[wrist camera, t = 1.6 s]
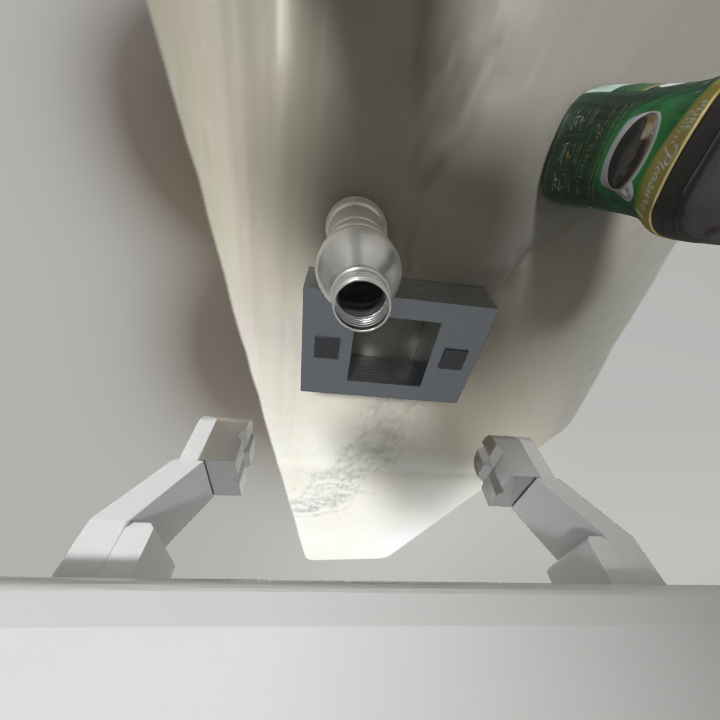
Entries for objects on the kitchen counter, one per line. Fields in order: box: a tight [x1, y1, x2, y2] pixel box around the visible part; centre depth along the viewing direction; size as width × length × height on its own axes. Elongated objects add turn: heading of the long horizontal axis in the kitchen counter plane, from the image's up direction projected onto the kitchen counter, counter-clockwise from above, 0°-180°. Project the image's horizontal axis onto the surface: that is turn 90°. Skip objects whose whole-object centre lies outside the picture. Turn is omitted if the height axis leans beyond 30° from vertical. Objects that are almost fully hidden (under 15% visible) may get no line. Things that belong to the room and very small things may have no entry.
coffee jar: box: [542, 76, 720, 245], centre depth 23 cm, size 10×8×19 cm
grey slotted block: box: [301, 267, 499, 403], centre depth 40 cm, size 15×22×6 cm
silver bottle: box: [315, 196, 402, 332], centre depth 26 cm, size 6×7×20 cm
